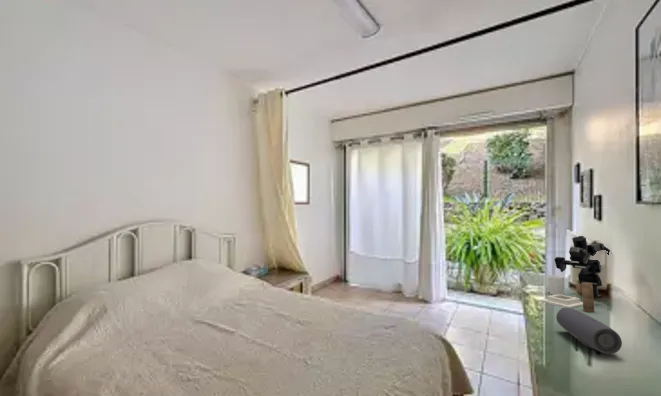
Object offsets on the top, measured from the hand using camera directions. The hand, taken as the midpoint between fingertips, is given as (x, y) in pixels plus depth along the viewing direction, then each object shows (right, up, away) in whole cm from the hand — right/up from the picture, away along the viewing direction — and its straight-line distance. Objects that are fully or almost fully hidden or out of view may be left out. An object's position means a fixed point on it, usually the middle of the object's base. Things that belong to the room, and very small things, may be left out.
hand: (571, 272), depth 155 cm
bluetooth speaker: (-31, -15, -46) cm, 57 cm away
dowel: (-1, -16, -11) cm, 19 cm away
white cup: (+6, -17, +18) cm, 26 cm away
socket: (-3, -16, +2) cm, 17 cm away
